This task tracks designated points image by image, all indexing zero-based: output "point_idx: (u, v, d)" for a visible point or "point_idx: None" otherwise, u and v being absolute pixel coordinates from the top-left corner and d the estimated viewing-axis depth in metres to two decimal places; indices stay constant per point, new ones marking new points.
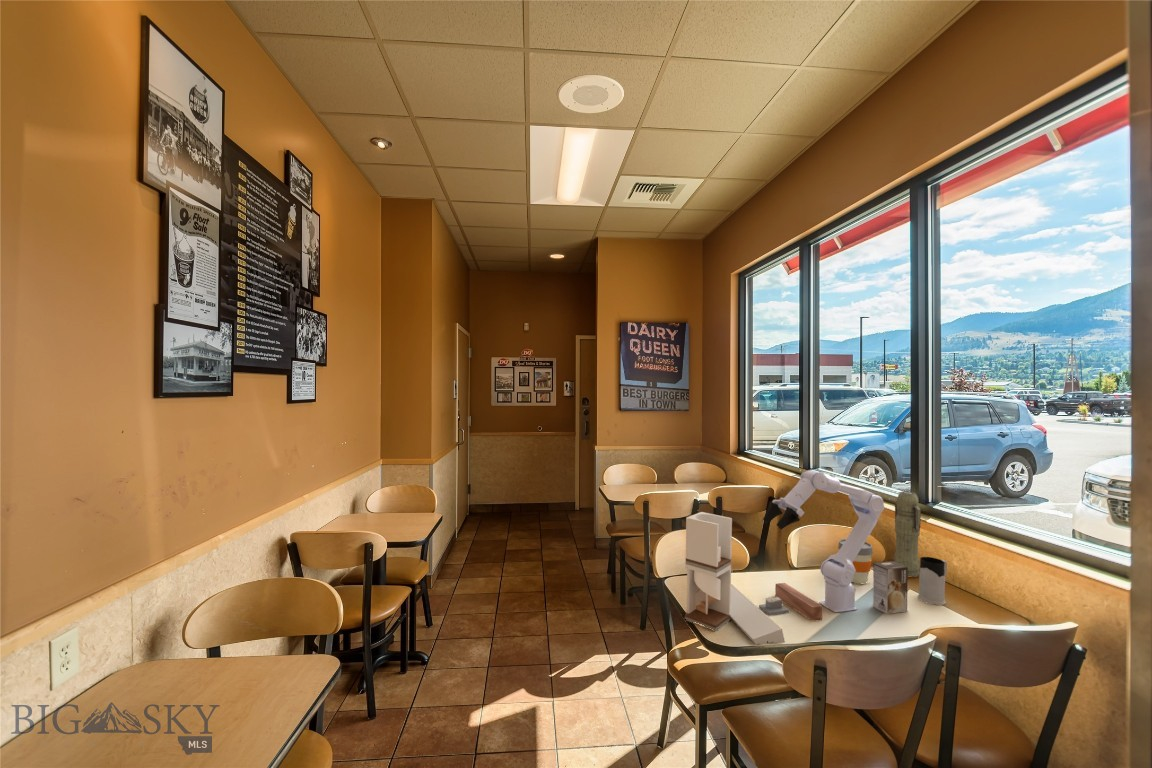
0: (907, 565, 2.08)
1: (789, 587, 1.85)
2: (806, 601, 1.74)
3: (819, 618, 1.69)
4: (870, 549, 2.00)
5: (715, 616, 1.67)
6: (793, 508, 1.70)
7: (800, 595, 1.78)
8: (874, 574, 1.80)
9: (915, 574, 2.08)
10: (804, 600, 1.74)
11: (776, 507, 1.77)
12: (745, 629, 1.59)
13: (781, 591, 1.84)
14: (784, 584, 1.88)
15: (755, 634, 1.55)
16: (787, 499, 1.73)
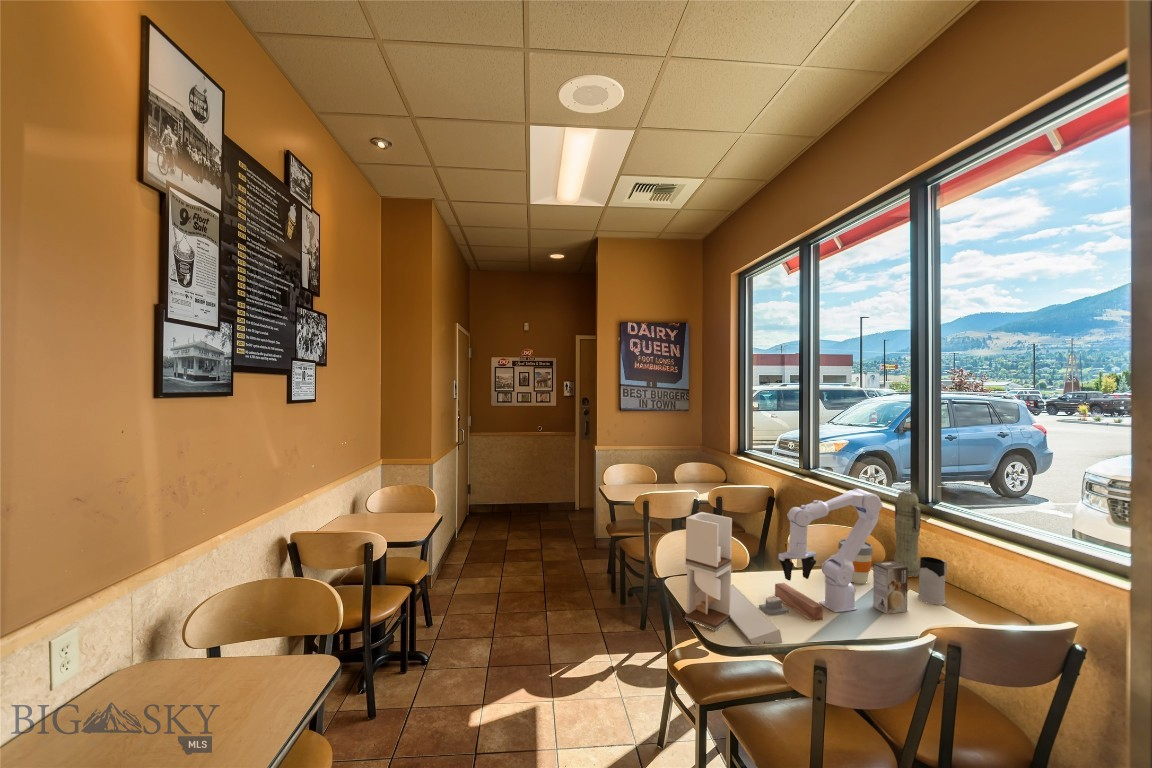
0: (907, 565, 2.08)
1: (789, 587, 1.85)
2: (806, 601, 1.74)
3: (820, 618, 1.69)
4: (870, 549, 2.00)
5: (715, 616, 1.67)
6: None
7: (800, 595, 1.78)
8: (874, 574, 1.80)
9: (915, 574, 2.08)
10: (805, 600, 1.74)
11: (805, 559, 1.80)
12: (743, 629, 1.59)
13: (781, 591, 1.84)
14: (784, 584, 1.87)
15: (752, 634, 1.55)
16: None
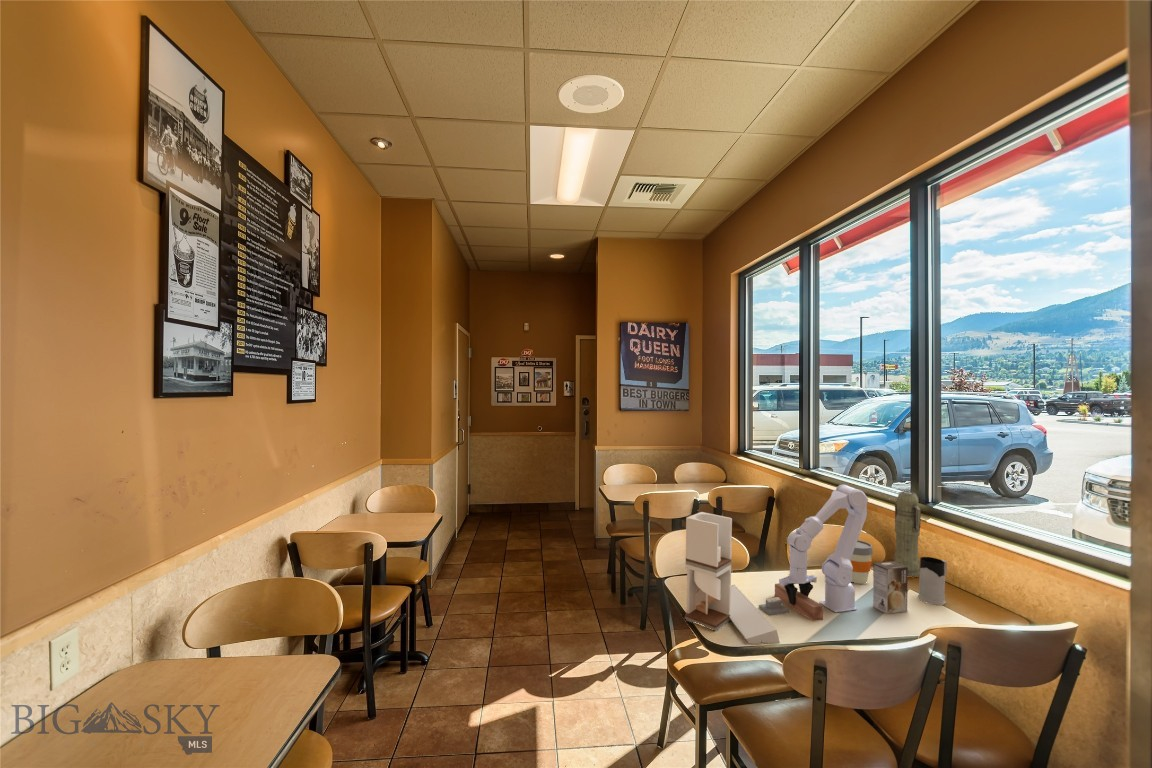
0: (907, 565, 2.08)
1: None
2: (806, 600, 1.74)
3: (820, 618, 1.70)
4: (870, 549, 2.00)
5: (715, 616, 1.67)
6: None
7: (800, 595, 1.78)
8: (874, 574, 1.80)
9: (915, 574, 2.08)
10: (805, 600, 1.74)
11: (802, 584, 1.80)
12: (740, 628, 1.59)
13: (781, 591, 1.84)
14: None
15: (749, 634, 1.55)
16: None
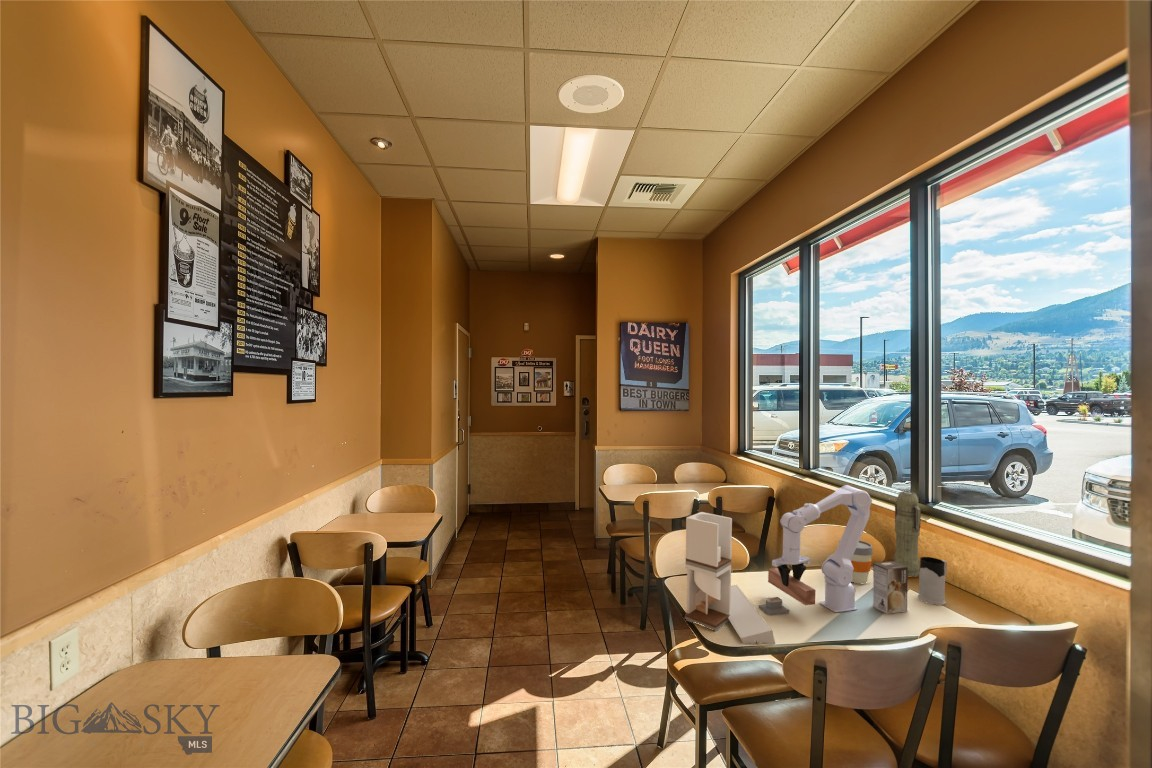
0: (907, 565, 2.08)
1: None
2: (799, 584, 1.73)
3: (812, 602, 1.69)
4: (870, 549, 2.00)
5: (715, 616, 1.67)
6: None
7: (793, 579, 1.77)
8: (874, 574, 1.80)
9: (915, 574, 2.08)
10: (797, 584, 1.73)
11: (795, 565, 1.79)
12: (736, 628, 1.59)
13: (774, 576, 1.84)
14: (777, 569, 1.87)
15: (744, 633, 1.56)
16: None
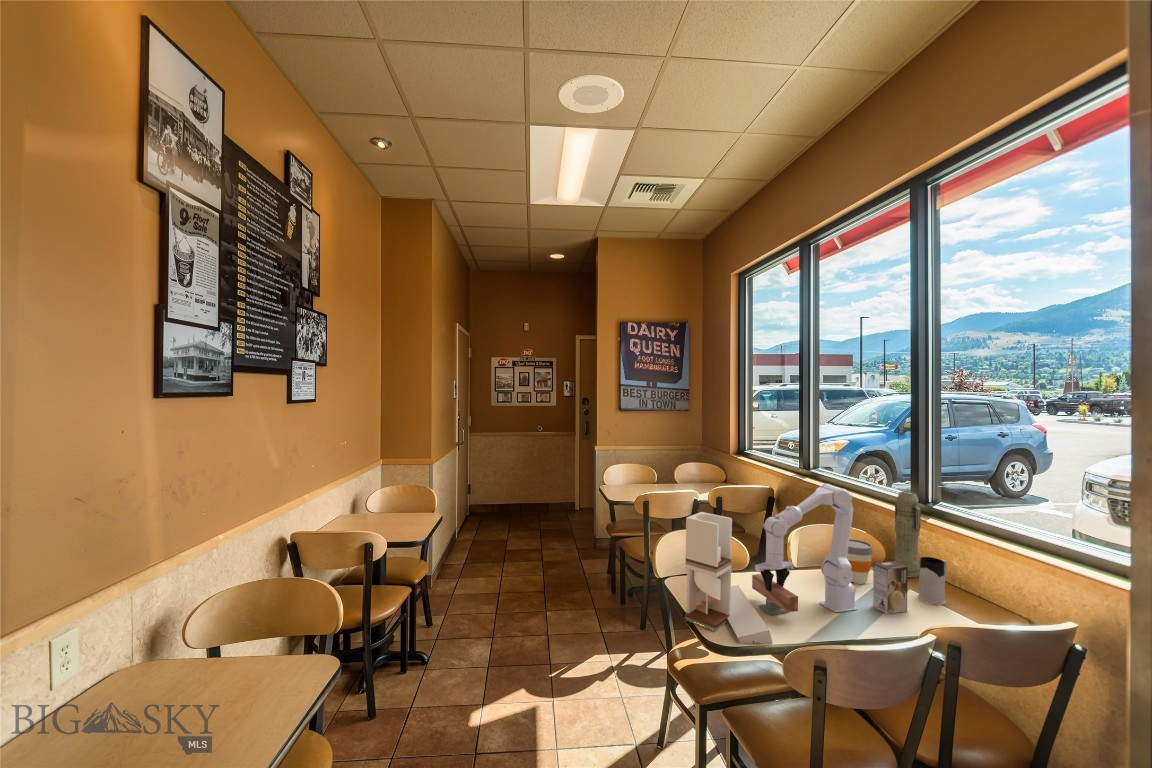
0: (907, 565, 2.08)
1: None
2: (782, 591, 1.71)
3: (795, 608, 1.67)
4: (870, 549, 2.00)
5: (715, 616, 1.67)
6: None
7: (776, 586, 1.75)
8: (874, 574, 1.80)
9: (915, 574, 2.08)
10: (780, 591, 1.71)
11: (778, 570, 1.77)
12: (734, 627, 1.60)
13: (758, 582, 1.82)
14: (761, 575, 1.85)
15: (741, 633, 1.56)
16: None
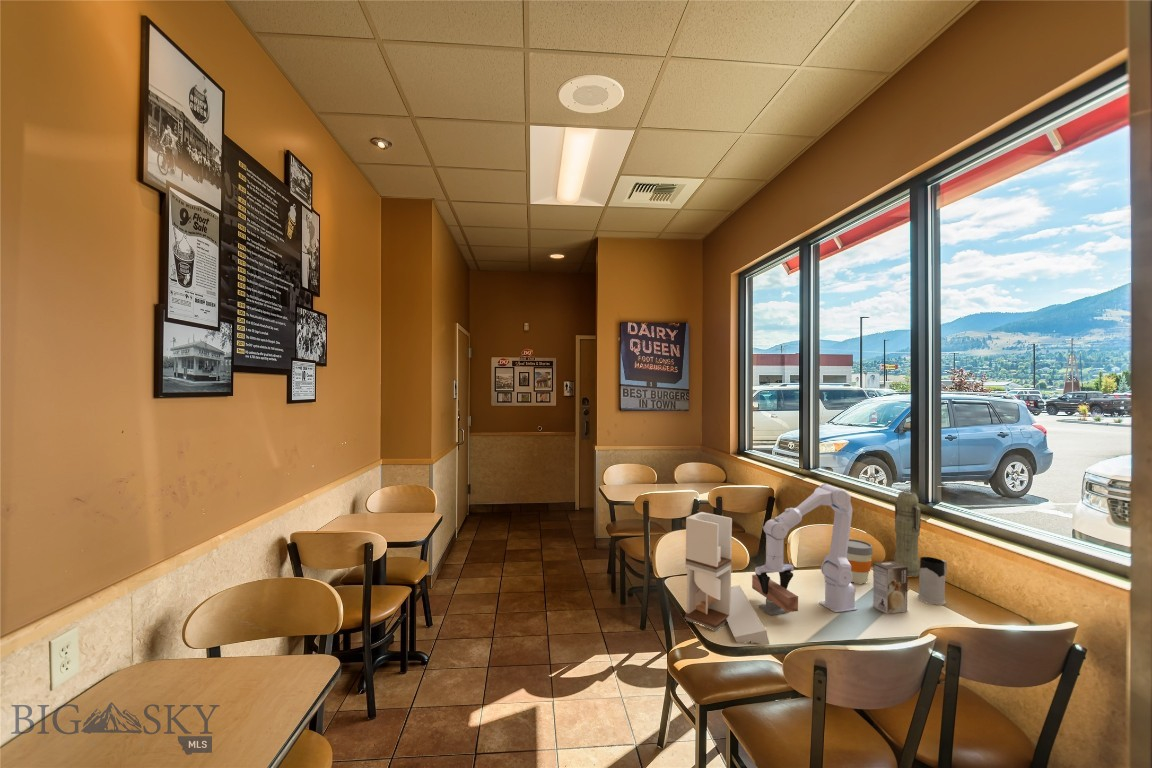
0: (907, 565, 2.08)
1: None
2: (782, 591, 1.71)
3: (795, 608, 1.67)
4: (870, 549, 2.00)
5: (715, 616, 1.67)
6: None
7: (776, 586, 1.75)
8: (874, 574, 1.80)
9: (915, 574, 2.08)
10: (780, 591, 1.71)
11: (782, 572, 1.78)
12: (731, 627, 1.60)
13: (758, 582, 1.82)
14: None
15: (738, 632, 1.56)
16: None
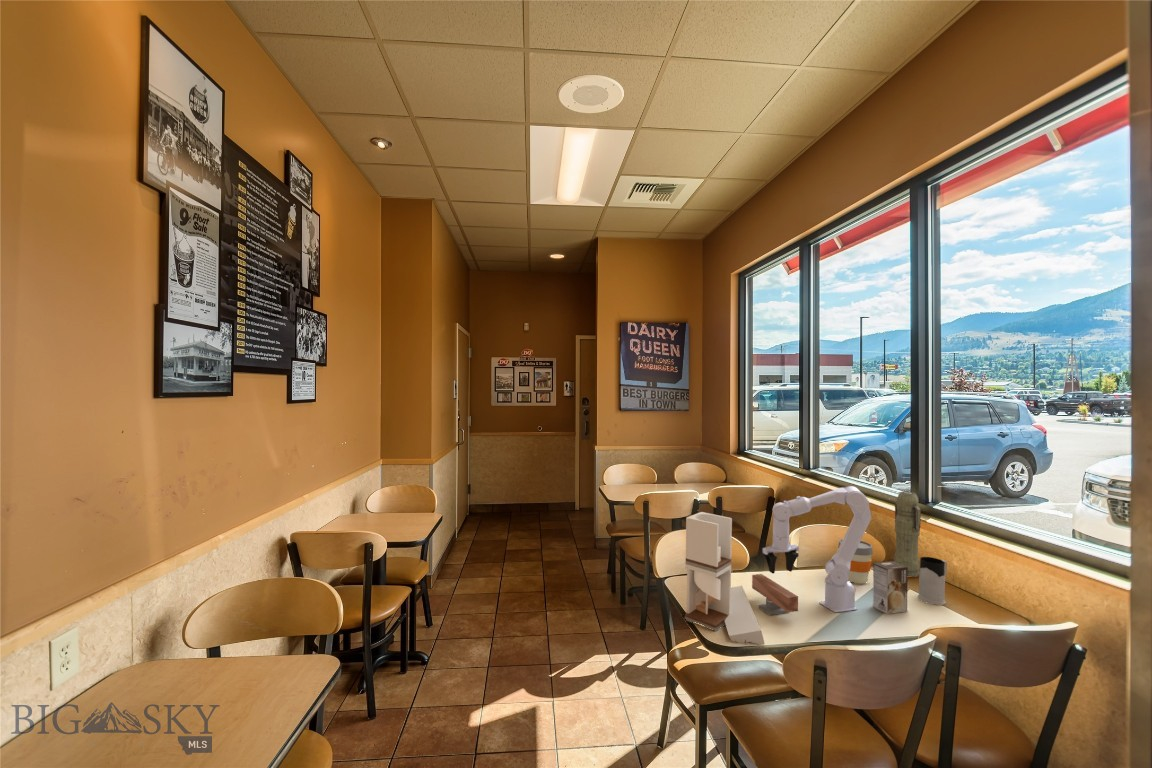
0: (907, 565, 2.08)
1: (766, 578, 1.82)
2: (782, 591, 1.71)
3: (795, 608, 1.67)
4: (870, 549, 2.00)
5: (715, 616, 1.67)
6: None
7: (776, 586, 1.75)
8: (874, 574, 1.80)
9: (915, 574, 2.08)
10: (780, 591, 1.71)
11: (788, 552, 1.87)
12: (727, 626, 1.61)
13: (758, 582, 1.82)
14: (761, 575, 1.85)
15: (733, 631, 1.56)
16: None
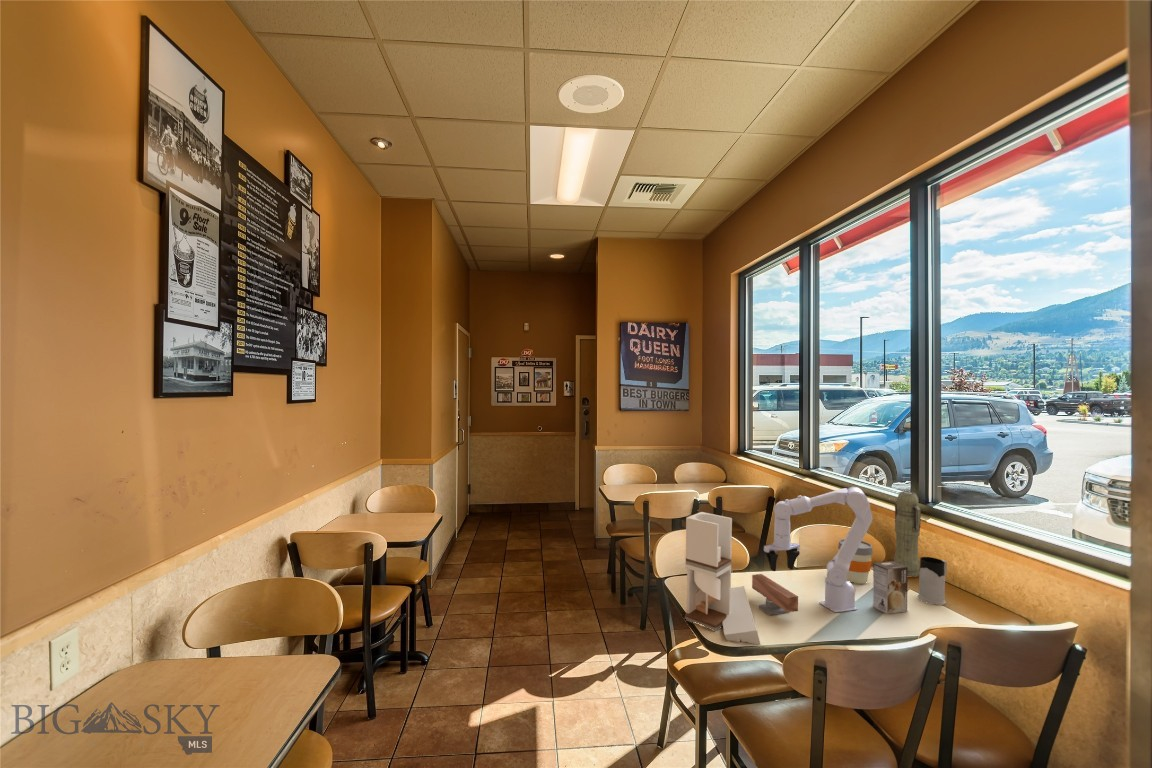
0: (907, 565, 2.08)
1: (766, 578, 1.82)
2: (782, 591, 1.71)
3: (795, 608, 1.67)
4: (870, 549, 2.00)
5: (715, 616, 1.67)
6: None
7: (776, 586, 1.75)
8: (874, 574, 1.80)
9: (915, 574, 2.08)
10: (780, 591, 1.71)
11: (789, 550, 1.89)
12: (724, 625, 1.61)
13: (758, 582, 1.82)
14: (761, 575, 1.85)
15: (729, 631, 1.57)
16: None
